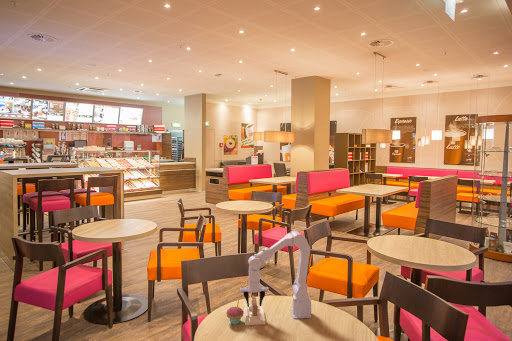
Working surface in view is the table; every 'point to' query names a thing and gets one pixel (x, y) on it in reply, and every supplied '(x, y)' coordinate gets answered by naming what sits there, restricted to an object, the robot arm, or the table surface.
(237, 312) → the cupcake
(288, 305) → the table surface
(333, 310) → the table surface
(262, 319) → the cream lipped block
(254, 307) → the brown wooden bar
